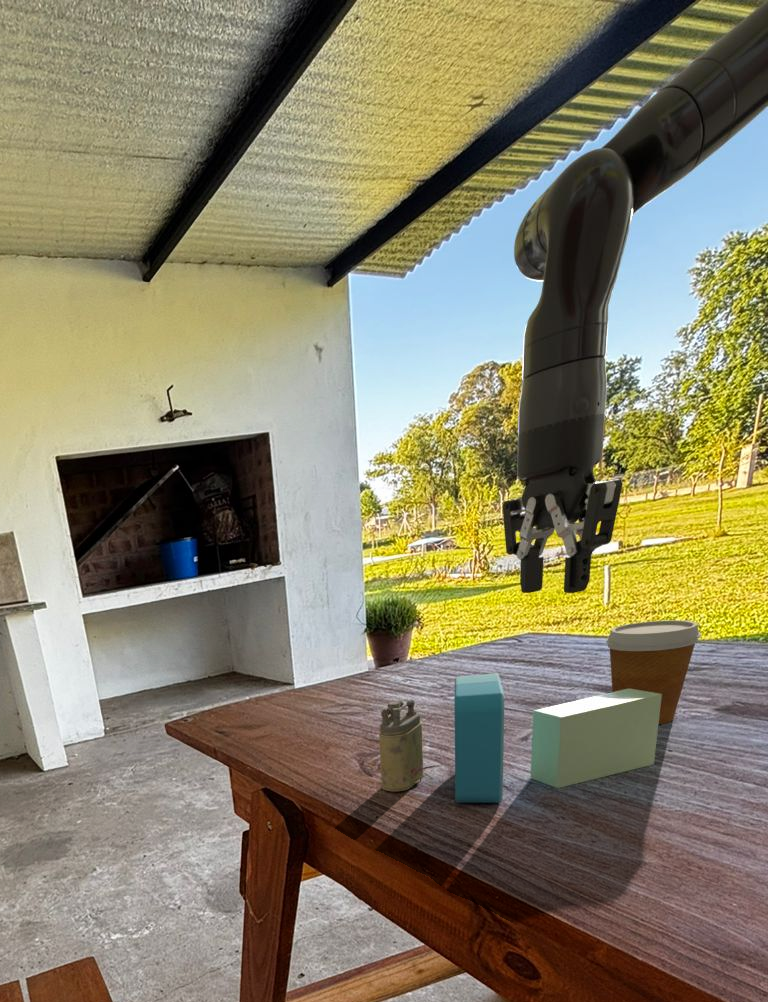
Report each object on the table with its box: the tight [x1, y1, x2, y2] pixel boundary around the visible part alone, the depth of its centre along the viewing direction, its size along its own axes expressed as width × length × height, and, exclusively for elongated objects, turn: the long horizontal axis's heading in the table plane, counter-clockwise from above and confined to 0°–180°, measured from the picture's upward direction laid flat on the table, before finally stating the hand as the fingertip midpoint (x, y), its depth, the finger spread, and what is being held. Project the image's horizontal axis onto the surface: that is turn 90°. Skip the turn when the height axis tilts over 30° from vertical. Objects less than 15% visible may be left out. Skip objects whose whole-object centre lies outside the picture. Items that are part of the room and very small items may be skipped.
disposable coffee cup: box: [605, 619, 702, 725], centre depth 79 cm, size 10×10×12 cm
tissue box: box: [530, 689, 662, 789], centre depth 68 cm, size 12×4×8 cm, turn 101°
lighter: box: [378, 699, 425, 792], centre depth 74 cm, size 7×4×10 cm, turn 137°
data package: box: [453, 672, 505, 804], centre depth 68 cm, size 12×4×12 cm, turn 156°
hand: (552, 591), depth 69 cm, fingers open, 5 cm apart
